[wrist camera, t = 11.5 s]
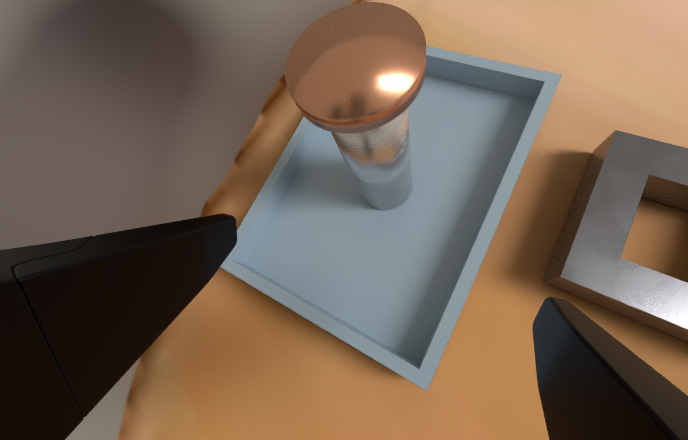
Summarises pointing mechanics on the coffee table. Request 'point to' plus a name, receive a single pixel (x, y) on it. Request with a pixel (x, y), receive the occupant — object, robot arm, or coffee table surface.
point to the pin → (363, 92)
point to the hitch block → (623, 232)
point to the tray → (397, 215)
